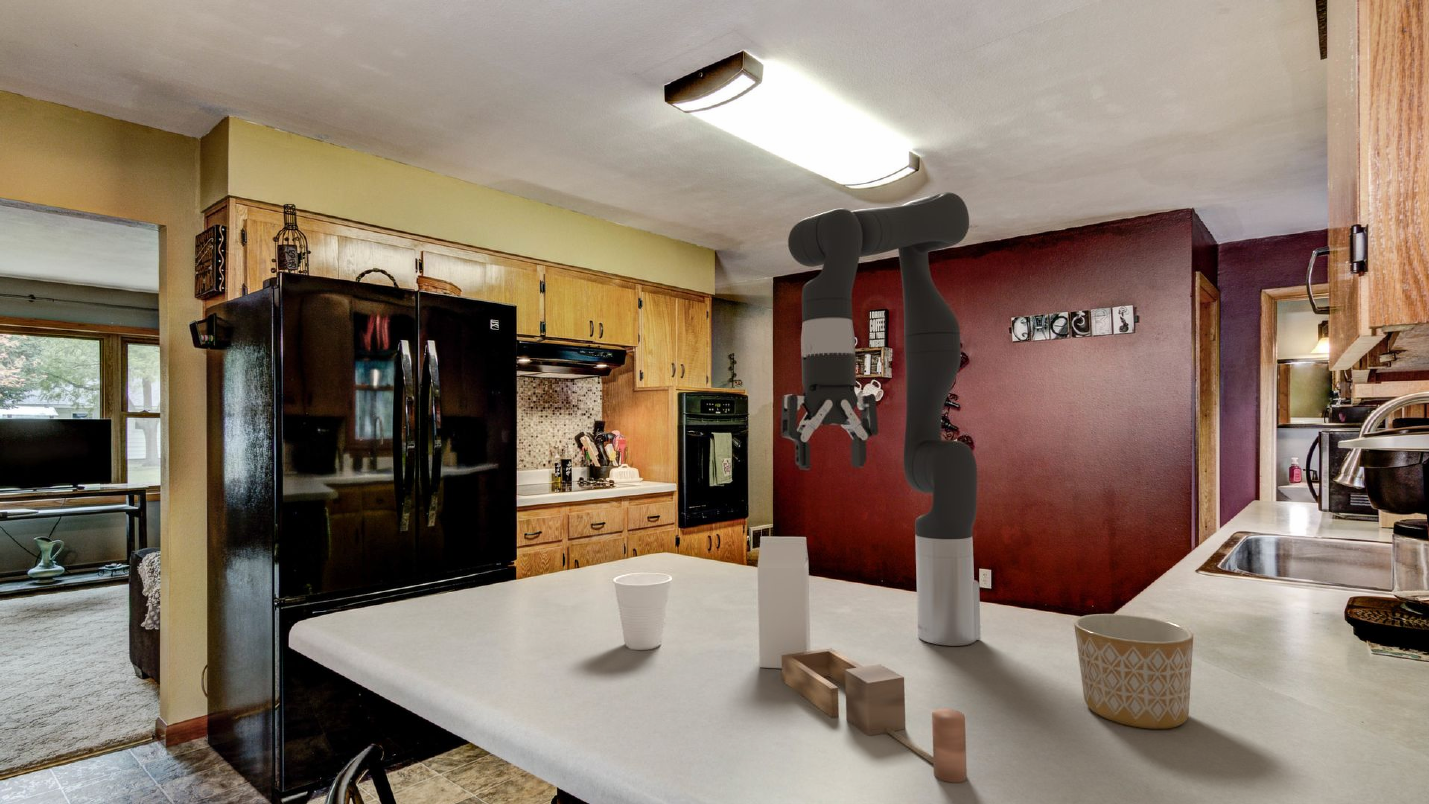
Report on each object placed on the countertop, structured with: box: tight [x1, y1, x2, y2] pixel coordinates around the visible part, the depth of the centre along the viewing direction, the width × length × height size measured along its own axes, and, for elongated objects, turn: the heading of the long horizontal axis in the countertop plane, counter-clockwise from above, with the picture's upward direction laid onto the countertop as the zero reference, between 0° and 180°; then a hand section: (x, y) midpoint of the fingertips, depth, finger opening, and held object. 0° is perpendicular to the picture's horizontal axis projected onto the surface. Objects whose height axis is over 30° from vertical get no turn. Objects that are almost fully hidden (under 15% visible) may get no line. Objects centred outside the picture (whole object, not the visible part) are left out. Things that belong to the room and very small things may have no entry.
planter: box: [1073, 613, 1194, 730], centre depth 86 cm, size 13×13×10 cm
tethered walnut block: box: [845, 663, 968, 784], centre depth 78 cm, size 18×5×6 cm, turn 20°
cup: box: [612, 572, 673, 651], centre depth 117 cm, size 10×10×11 cm
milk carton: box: [757, 536, 811, 669], centre depth 108 cm, size 7×7×19 cm
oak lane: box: [781, 647, 864, 718], centre depth 94 cm, size 14×8×4 cm, turn 20°
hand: (831, 468), depth 98 cm, fingers open, 8 cm apart
